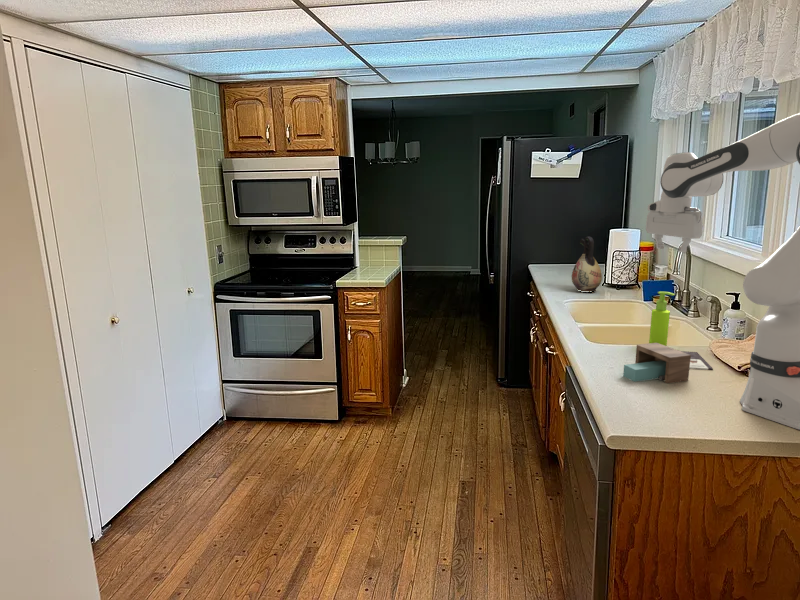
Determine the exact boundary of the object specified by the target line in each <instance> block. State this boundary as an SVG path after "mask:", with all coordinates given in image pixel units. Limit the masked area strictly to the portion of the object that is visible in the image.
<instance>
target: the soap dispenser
mask: <svg viewBox="0 0 800 600" xmlns="http://www.w3.org/2000/svg"><path fill="white" fill-rule="evenodd" d="M657 294H658V295H659V299H658V300H656V302H655V303H656V306H655V308H654V309H652V310H651V318H650V326H649V327H650V329H649V339H648V344H649V343H659V344H662V345H665V346H667V345H668V334H669V327H670V314H671V311H670V310H668V309H667V308H668V307H667V304H668V301H667V300H665V298H666V295H669V296H672V297H673V296H675V295H676V293H673V292H670V291H657ZM667 347H668V346H667Z"/></svg>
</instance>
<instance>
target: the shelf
mask: <svg viewBox="0 0 800 600" xmlns="http://www.w3.org/2000/svg"><path fill="white" fill-rule="evenodd" d="M635 348H636V350H635V352H636V353H635V363H644V362H652V361H660V360H662V361H664V362H666V371H665V375H662V376H659V378H658V380H659V381H664V383H666V384H672V383H680V382H688V381H689V376H690V369H689V368H690V358H691V355H689V354H686V353H684V352H681V350H678V349H676V348H672V347H669V346H665V345H662V344H659V343H649V342H648V343H642V344H636V347H635ZM635 363H634V364H635Z"/></svg>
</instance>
